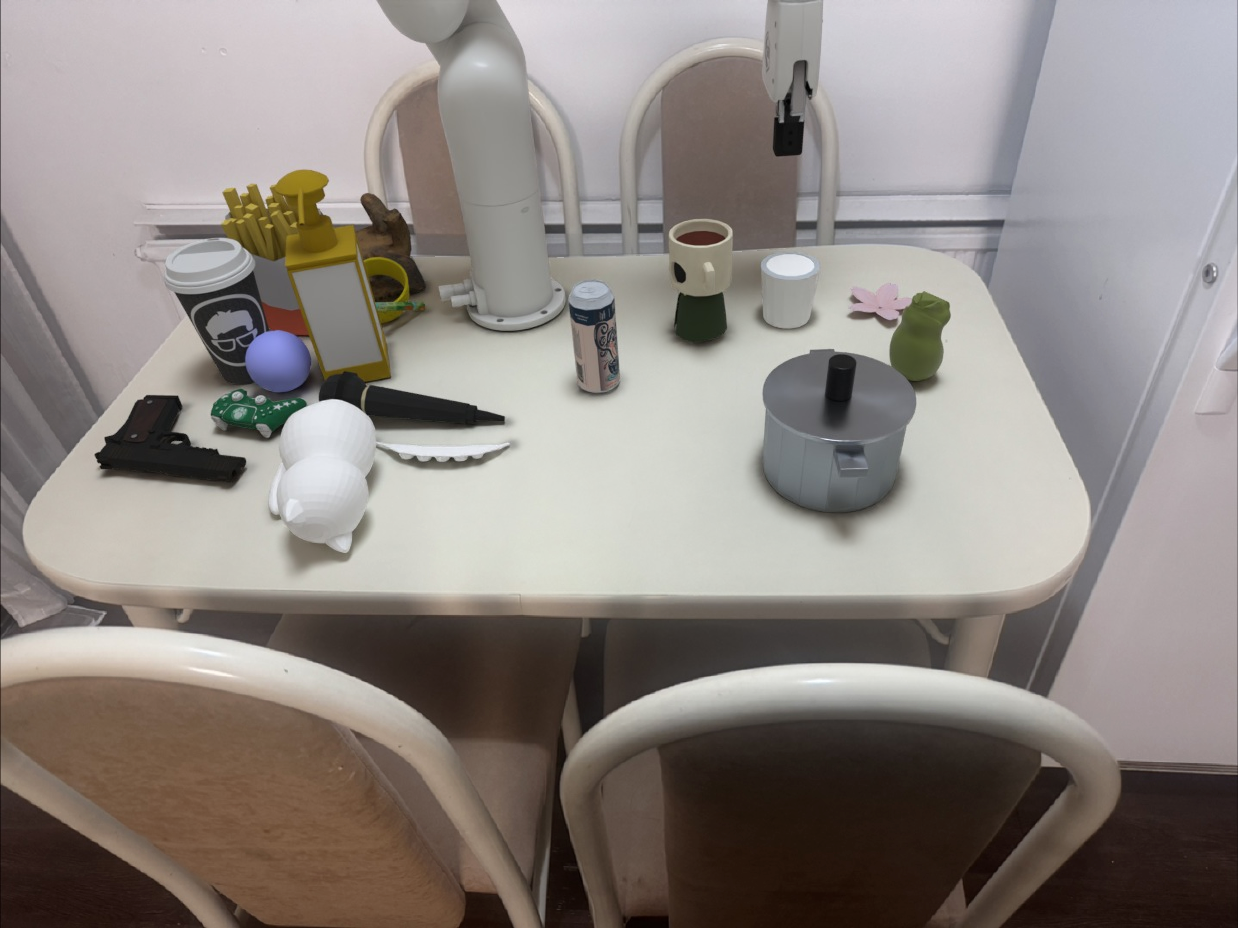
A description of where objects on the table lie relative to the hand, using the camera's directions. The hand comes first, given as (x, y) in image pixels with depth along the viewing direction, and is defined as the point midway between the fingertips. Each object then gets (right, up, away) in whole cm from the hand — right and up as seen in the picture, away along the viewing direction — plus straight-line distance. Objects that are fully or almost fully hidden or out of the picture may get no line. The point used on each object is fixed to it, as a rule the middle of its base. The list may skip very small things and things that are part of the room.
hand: (787, 152), depth 101 cm
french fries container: (-59, -19, +9) cm, 63 cm away
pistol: (-65, -30, -4) cm, 71 cm away
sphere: (-57, -25, 0) cm, 62 cm away
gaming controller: (-59, -28, -5) cm, 65 cm away
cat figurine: (-49, -32, -14) cm, 60 cm away
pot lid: (0, -30, -22) cm, 38 cm away
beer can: (-22, -28, -4) cm, 35 cm away
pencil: (-52, -19, -6) cm, 56 cm away
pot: (+1, -37, -17) cm, 40 cm away
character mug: (-10, -21, +3) cm, 23 cm away
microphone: (-32, -32, -9) cm, 46 cm away
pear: (+13, -27, -6) cm, 30 cm away
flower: (+12, -18, +4) cm, 22 cm away
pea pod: (-39, -34, -13) cm, 53 cm away
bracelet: (-50, -14, +6) cm, 52 cm away
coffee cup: (-64, -25, +2) cm, 69 cm away
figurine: (-61, -5, +25) cm, 66 cm away
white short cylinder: (+1, -19, +4) cm, 19 cm away
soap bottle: (-50, -27, -1) cm, 57 cm away
